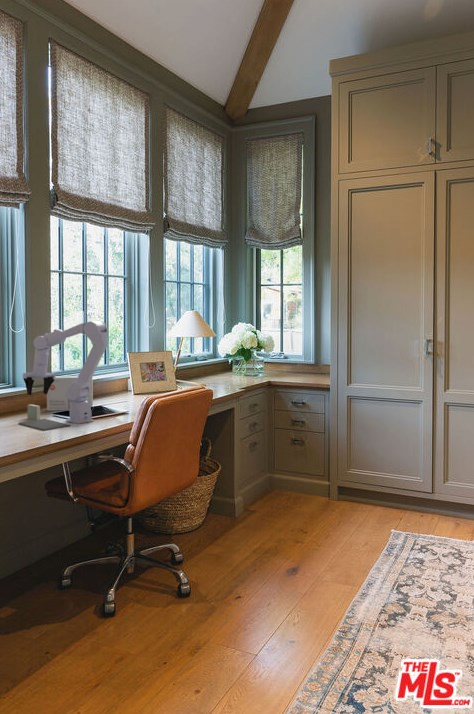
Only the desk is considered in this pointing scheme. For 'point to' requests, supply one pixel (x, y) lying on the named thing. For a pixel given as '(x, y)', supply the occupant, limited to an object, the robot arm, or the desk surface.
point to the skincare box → (63, 393)
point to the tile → (33, 412)
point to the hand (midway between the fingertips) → (37, 394)
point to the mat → (44, 424)
